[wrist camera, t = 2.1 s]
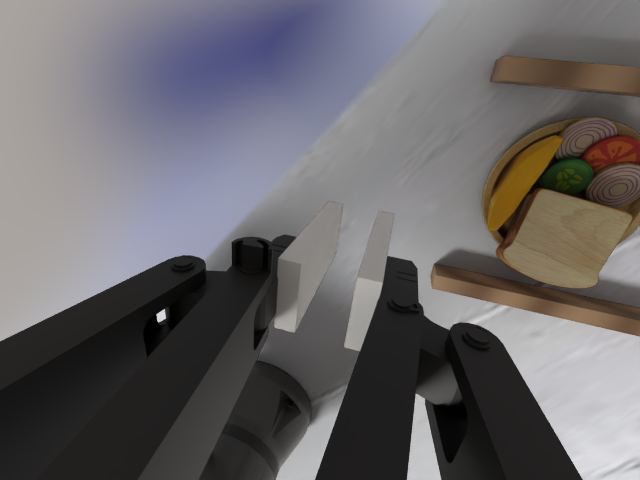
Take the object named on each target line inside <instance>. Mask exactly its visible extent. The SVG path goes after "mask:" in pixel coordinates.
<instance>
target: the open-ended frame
mask: <svg viewBox="0 0 640 480" xmlns="http://www.w3.org/2000/svg"><path fill="white" fill-rule="evenodd" d="M490 82H499V83H508V84H518V85H528V86H538V87H548V88H557V89H567V90H577V91H587V92H597V93H607V94H616V95H626V96H636V97H640V67H628V66H617V65H605V64H594V63H582V62H570V61H559V60H547V59H535V58H524V57H512V56H504V57H502V58H500V59H498V60H496V63H495V67H494V70H493V73H492V76H491V80H490ZM431 284H432V288H433V289H437V290H441V291H446V292H450V293H454V294H459V295H463V296H467V297H472V298H476V299H480V300H485V301H489V302H493V303H498V304H502V305H506V306H511V307H515V308H519V309H524V310H528V311H532V312H537V313H541V314H545V315H549V316H554V317H558V318H562V319H567V320H571V321H575V322H580V323H584V324H588V325H593V326H597V327H601V328H606V329H610V330H614V331H619V332H623V333H627V334H632V335H636V336H640V308H637V307H632V306H627V305H623V304H618V303H613V302H609V301H604V300H600V299H595V298H590V297H586V296H581V295H576V294H572V293H567V292H563V291H558V290H553V289H549V288H544V287H539V286H535V285H530V284H526V283H521V282H516V281H512V280H507V279H502V278H498V277H493V276H489V275H484V274H479V273H475V272H470V271H465V270H461V269H456V268H452V267H447V266H442V265H438V264H434V266H433V270H432V273H431Z"/></svg>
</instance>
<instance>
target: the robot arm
mask: <svg viewBox="0 0 640 480" xmlns="http://www.w3.org/2000/svg"><path fill="white" fill-rule="evenodd" d="M342 211H343V204H342V203H336V202H331V201H328V202H327V203H326V205H325V206H324V207H323V208H322V209H321V210H320V211H319V213H318V214H317V215H316V216H315V217H314V218H313V219H312V221H311V222H310V223H309V224H308V225H307V226H306V227H305V228H304V230H303V231H302V232H301V233H300V234H299V235H298V236H297V237H294V236H289V235H282V236H280V237H277V238H275V239H274V240H273V241H272V242H269V241H268V240H266V239H262V238H258V237H244V238H240V239H236V240H235V241H233V242H232V266H231V267H230V268H229V269H228V270H227V271H222V272H221V271H206V263H205V262H204V260H203V259H201V258H199V257H194V256H184V255H183V256H179V257H174V258H171V259H168V260H166V261H165V262H162V263H160V264H158V265H156V266H154V267H152V268H150V269H148V270H146V271H144V272H142V273H140V274H138V275H136V276H133V277H131V278H129V279H127V280H125V281H123V282H121V283H119V284H117V285H115V286H113V287H111V288H109V289H107V290H105V291H103V292H101V293H99V294H97V295H95V296H93V297H90V298H88V299H86V300H84V301H82V302H80V303H78V304H76V305H74V306H72V307H70V308H68V309H66V310H64V311H62V312H60V313H58V314H56V315H54V316H52V317H50V318H47V319H45V320H43V321H41V322H39V323H37V324H35V325H33V326H31V327H29V328H27V329H25V330H23V331H21V332H19V333H17V334H15V335H13V336H11V337H9V338H6V339H5V340H2V341H0V480H276V477H277V474H278V472H279V469H280V467H281V466H282V465H283V463H284V462H285V461H286V459H287V458H288V457H289V455H290V454H291V453H292V451H293V450H294V449H295V447H296V446H297V445H298V443H299V442H300V441H301V439H302V438H303V436H304V435H305V433H306V430H307V427H308V424H309V421H310V418H311V404H310V401H309V399H308V396H307V395H306V393H305V391H304V390H303V388H302V387H301V386H300V385H299V384H298V383H297V382H296V381H295V380H294V379H293V378H292V377H291V376H289V375H288V374H287V373H285V372H284V371H282V370H280V369H278V368H276V367H274V366H272V365H269V364H266V363H263V362H258V361H256V360H257V358H258V356H259V354H260V351H261V349H262V347H263V345H264V343H265V341H266V339H267V337H268V333H269V323H270V321H271V320H272V318H273V317H274V315H275V319H274V327H275V328H278V329H282V330H285V331H289V332H292V333H295V331H296V330H297V328H298V326H299V324H300V322H301V320H302V318H303V316H304V314H305V312H306V310H307V308H308V306H309V304H310V302H311V301H312V299H313V297H314V295H315V293H316V291H317V289H318V287H319V285H320V283H321V281H322V279H323V277H324V275H325V273H326V272H327V270H328V268H329V266H330V264H331V262H332V260H333V258H334V256H335V254H336V251H337V244H338V237H339V231H340V224H341V217H342ZM393 218H394V213H389V212H384V211H378V213H377V217H376V220H375V223H374V226H373V229H372V232H371V235H370V238H369V242H368V245H367V248H366V251H365V254H364V257H363V260H362V263H361V266H360V270H359V273H358V276H357V280H356V286H355V291H354V296H353V302H352V307H351V312H350V317H349V323H348V328H347V333H346V339H345V344H344V347H345V348H349V349H352V350H356V351H359V352H360V353H359V356H358V359H357V361H356V364H355V367H354V370H353V373H352V376H351V379H350V381H349V384H348V387H347V390H346V393H345V396H344V399H343V401H342V404H341V407H340V410H339V413H338V416H337V419H336V421H335V424H334V427H333V430H332V433H331V436H330V439H329V441H328V444H327V447H326V450H325V453H324V456H323V459H322V461H321V464H320V467H319V470H318V473H317V476H316V479H315V480H407V472H408V462H409V452H410V443H411V433H412V423H413V413H414V403H415V394H418V395H420V396H422V397H423V398H425V405H426V410H427V415H428V419H429V424H430V429H431V433H432V438H433V442H434V447H435V452H436V456H437V461H438V466H439V470H440V475H441V480H582V478H581V476H580V474H579V473H578V471H577V469H576V468H575V466H574V464H573V463H572V461H571V459H570V457H569V456H568V454H567V452H566V451H565V449H564V447H563V446H562V444H561V442H560V440H559V439H558V437H557V435H556V434H555V432H554V430H553V429H552V427H551V425H550V423H549V422H548V420H547V418H546V417H545V415H544V413H543V411H542V410H541V408H540V406H539V405H538V403H537V401H536V400H535V398H534V396H533V394H532V393H531V391H530V389H529V388H528V386H527V384H526V383H525V381H524V379H523V377H522V376H521V374H520V372H519V371H518V369H517V367H516V366H515V364H514V362H513V360H512V359H511V357H510V355H509V354H508V352H507V350H506V348H505V347H504V345H503V344H502V342H501V341H500V340H499V339H498V338H497V336H495V335H494V334H492V333H491V332H490V331H488V330H487V329H485V328H482V327H481V326H478V325H474V324H471V323H457V324H454V325H453V326H452V327H451V329H450V330H448V329H446V328H443V327H441V326H439V325H437V324H435V323H433V322H432V321H430V320H429V319H428V318H426V317H425V316H424V311H423V307H422V306H421V304H420V303H419V302H418V277H417V276H418V274H417V268H416V266H415V265H414V264H413V262H412V261H408V260H404V259H399V258H394V257H390V256H387V255H388V249H389V243H390V237H391V230H392V224H393ZM164 309H165V314H166V319H165V320H163V321H161V322H159V323H158V322H157V316H156V314H157V313H159V312H160V311H162V310H164Z"/></svg>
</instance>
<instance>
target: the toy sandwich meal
mask: <svg viewBox="0 0 640 480" xmlns="http://www.w3.org/2000/svg"><path fill="white" fill-rule="evenodd" d="M482 215H483V219H484V223H485V225H486V227H487V229H488V231H489V233H490V235H491V236H492V237H493V239H494V240H495V241H496V242H497V243H498V244H499V246H498V248H497V249H496V254H497V256H498V257H499V258H500V259H501V260H502V261H503V262H504V263H505V264H507V265H508V266H509V267H511V268H512V269H514V270H516V271H518V272H520V273H522V274H524V275H526V276H528V277H530V278H533V279H535V280H538V281H541V282H544V283H547V284H551V285H555V286H560V287H566V288H589V287H592V286H595V285H596V284H597V283H598V281H599V279H598V275H599V272H600V270H601V269H602V267H603V265H604V264H605V262H606V261H607V259H608V257H609V256H610V254H611V253H612V251H613V250H614V248H615V247H616V245H618V244H619V243H621V242H622V241H623V240H625V239H626V238H627V237H628V236H630V235H631V234H632V233H633V232H634V231H635V230H636V229H637V228H638V227H639V226H640V134H639V133H638V132H636V131H635V130H633V129H632V128H630V127H628V126H626V125H624V124H621V123H618V122H616V121H612V120H607V119H605V118H601V117H590V118H576V119H569V120H564V121H560V122H556V123H553V124H550V125H547V126H544V127H542V128H540V129H538V130H536V131H534V132H532V133H530V134H528V135H527V136H525V137H524V138H522V139H521V140H519V141H518V142H517V143H515V144H514V145H513V146H512V147H511V148H509V149H508V150H507V151H506V152H505V153H504V154H503V156H502V157H501V158H500V159H499V160H498V161H497V163H496V164H495V166H494V167H493V169H492V170H491V172H490V174H489V176H488V178H487V181H486V183H485V186H484V190H483V195H482Z"/></svg>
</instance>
